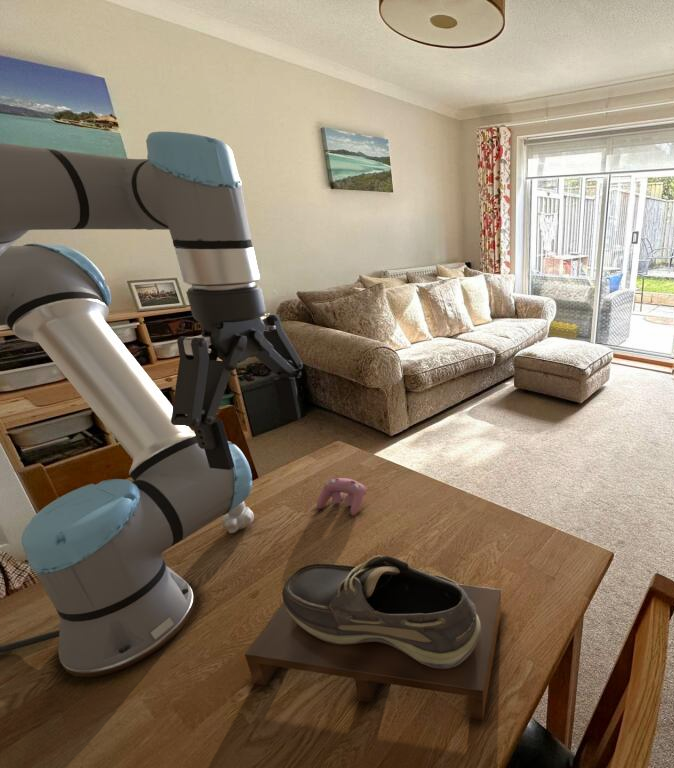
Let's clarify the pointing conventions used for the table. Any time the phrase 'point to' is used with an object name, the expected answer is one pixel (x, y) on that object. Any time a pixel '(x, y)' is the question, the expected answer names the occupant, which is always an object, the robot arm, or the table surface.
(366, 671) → the small wooden pallet
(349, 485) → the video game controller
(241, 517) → the white lobed figurine
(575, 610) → the table surface
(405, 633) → the boat shoe
